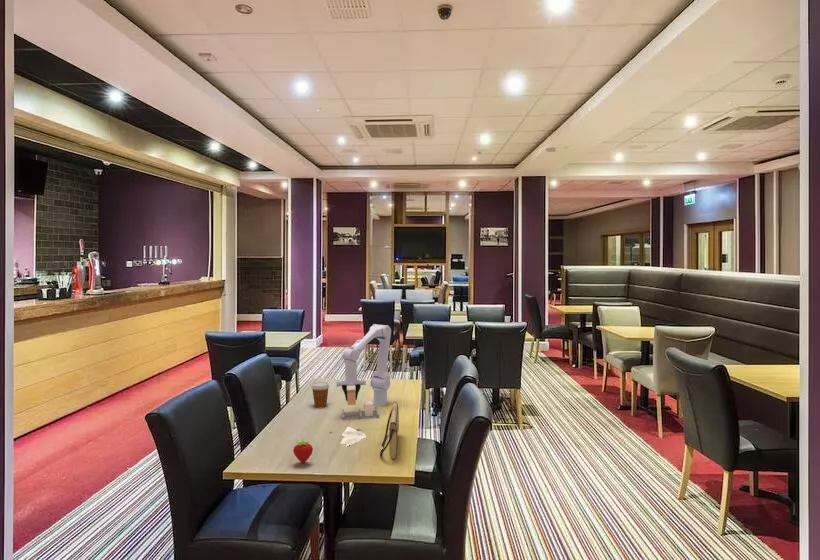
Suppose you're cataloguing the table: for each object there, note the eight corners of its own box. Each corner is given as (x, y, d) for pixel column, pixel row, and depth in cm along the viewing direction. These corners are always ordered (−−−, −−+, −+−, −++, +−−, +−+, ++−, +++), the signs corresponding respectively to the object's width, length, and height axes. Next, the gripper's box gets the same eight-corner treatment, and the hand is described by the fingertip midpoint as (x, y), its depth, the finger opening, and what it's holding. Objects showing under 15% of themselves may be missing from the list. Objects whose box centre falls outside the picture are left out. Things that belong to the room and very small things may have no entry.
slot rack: (341, 414, 237) (341, 409, 236) (376, 412, 240) (376, 407, 239) (342, 422, 225) (342, 417, 225) (379, 419, 228) (379, 414, 228)
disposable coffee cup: (308, 407, 248) (307, 385, 247) (318, 402, 257) (317, 381, 256) (323, 409, 244) (323, 387, 244) (332, 404, 253) (332, 382, 253)
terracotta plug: (347, 401, 234) (347, 389, 234) (355, 401, 235) (354, 389, 234) (347, 405, 228) (347, 393, 228) (355, 404, 229) (355, 392, 229)
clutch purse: (383, 433, 210) (383, 401, 209) (398, 433, 210) (398, 400, 209) (378, 461, 180) (378, 423, 179) (396, 461, 180) (396, 423, 179)
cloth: (358, 450, 193) (358, 444, 193) (327, 448, 195) (326, 442, 195) (373, 428, 218) (373, 423, 218) (345, 426, 221) (345, 421, 221)
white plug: (364, 412, 235) (364, 401, 235) (372, 412, 236) (371, 400, 236) (365, 416, 230) (364, 404, 229) (373, 416, 230) (372, 404, 230)
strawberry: (311, 466, 176) (310, 441, 175) (291, 466, 176) (291, 440, 176) (314, 460, 182) (314, 435, 181) (295, 460, 182) (295, 435, 181)
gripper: (336, 375, 226) (336, 403, 226) (366, 374, 228) (366, 401, 228) (336, 372, 232) (336, 398, 233) (365, 370, 235) (365, 397, 235)
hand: (351, 399), depth 231 cm, fingers closed on terracotta plug, 4 cm apart
